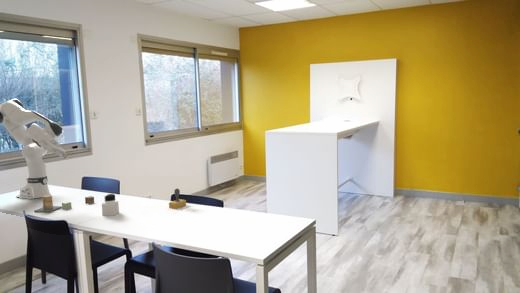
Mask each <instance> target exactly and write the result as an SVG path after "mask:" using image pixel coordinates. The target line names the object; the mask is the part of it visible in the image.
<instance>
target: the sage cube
mask: <svg viewBox="0 0 520 293" xmlns="http://www.w3.org/2000/svg"><path fill="white" fill-rule="evenodd" d="M61 206H62V208H61V209H62V210H69V209H72V201H63V202H61Z"/></svg>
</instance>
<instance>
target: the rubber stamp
mask: <svg viewBox="0 0 520 293" xmlns="http://www.w3.org/2000/svg"><path fill="white" fill-rule="evenodd" d="M180 194H181V192H180V188H175V189H174V195H175V197H176V198H175V199H176V200H173V201H169V203H168V208H169V209H171V208H172V210H178V209H181V208H183V207H186V206H187V200H185V199H182V198H181V199H180V198H179V196H180ZM177 208H178V209H177Z"/></svg>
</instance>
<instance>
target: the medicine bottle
mask: <svg viewBox="0 0 520 293" xmlns="http://www.w3.org/2000/svg"><path fill="white" fill-rule="evenodd" d="M103 200H104V202H103V203H101V211H102V212H101V213H102V216H104V217H105V216H106V217H107V216H112V217H113V216H116V215H117V214H119V213H120V210H119V209H120V207H119V201H118V200H116V194H114V193H108V194H105V195H104V199H103Z"/></svg>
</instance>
